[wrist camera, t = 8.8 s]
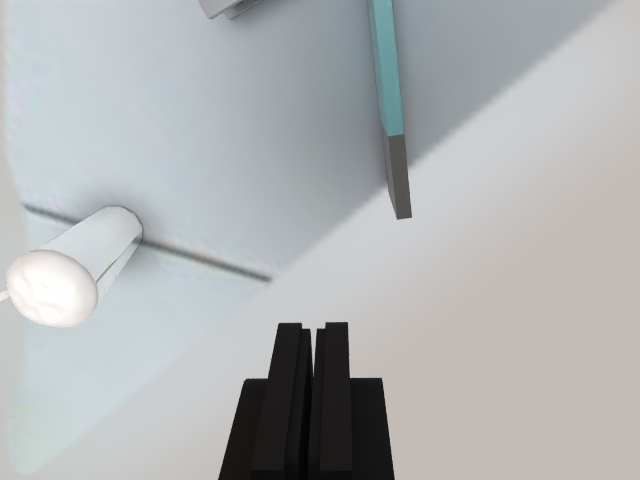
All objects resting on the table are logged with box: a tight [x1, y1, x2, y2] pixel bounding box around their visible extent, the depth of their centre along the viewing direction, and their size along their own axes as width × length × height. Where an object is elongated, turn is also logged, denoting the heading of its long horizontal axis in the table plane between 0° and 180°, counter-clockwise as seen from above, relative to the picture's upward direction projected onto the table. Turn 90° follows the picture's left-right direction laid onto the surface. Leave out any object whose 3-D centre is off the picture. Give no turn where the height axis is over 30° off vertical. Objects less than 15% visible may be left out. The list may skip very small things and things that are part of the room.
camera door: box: [367, 0, 412, 220], centre depth 24 cm, size 14×1×4 cm, turn 10°
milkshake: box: [0, 206, 143, 327], centre depth 26 cm, size 4×5×10 cm
